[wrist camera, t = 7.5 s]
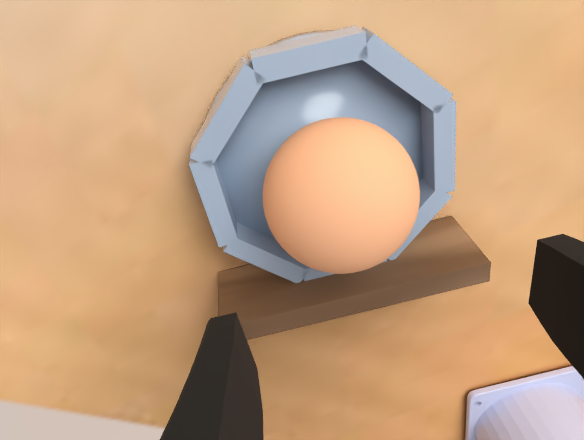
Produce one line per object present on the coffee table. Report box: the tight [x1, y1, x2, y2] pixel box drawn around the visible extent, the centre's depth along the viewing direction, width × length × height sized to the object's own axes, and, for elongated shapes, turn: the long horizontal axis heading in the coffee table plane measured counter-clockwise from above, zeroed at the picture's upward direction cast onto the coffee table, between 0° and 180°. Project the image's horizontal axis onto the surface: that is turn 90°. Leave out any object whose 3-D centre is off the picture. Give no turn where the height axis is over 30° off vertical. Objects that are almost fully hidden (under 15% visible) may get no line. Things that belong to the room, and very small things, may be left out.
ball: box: [263, 117, 420, 274], centre depth 15 cm, size 5×5×5 cm
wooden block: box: [218, 216, 491, 340], centre depth 19 cm, size 1×11×4 cm, turn 101°
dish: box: [189, 26, 456, 283], centre depth 17 cm, size 9×9×2 cm
